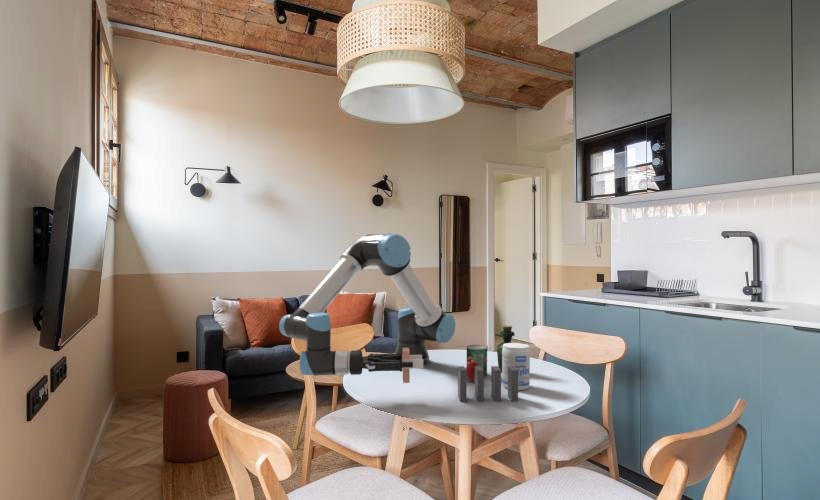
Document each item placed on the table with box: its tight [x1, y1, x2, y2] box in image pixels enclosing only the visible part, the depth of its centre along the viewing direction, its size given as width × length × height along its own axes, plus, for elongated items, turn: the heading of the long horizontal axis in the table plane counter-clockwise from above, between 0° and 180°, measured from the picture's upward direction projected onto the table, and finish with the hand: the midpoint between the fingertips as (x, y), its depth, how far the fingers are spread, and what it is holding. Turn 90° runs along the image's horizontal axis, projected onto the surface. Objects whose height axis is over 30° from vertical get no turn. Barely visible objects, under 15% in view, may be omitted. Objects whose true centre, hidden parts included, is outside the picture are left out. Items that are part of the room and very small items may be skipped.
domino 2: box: [474, 366, 485, 403], centre depth 150 cm, size 2×5×10 cm, turn 3°
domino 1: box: [457, 365, 468, 403], centre depth 150 cm, size 2×5×10 cm, turn 3°
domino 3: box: [490, 365, 502, 403], centre depth 151 cm, size 2×5×10 cm, turn 3°
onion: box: [465, 360, 478, 383], centre depth 170 cm, size 6×6×8 cm
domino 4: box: [507, 366, 519, 402], centre depth 151 cm, size 2×5×10 cm, turn 3°
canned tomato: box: [466, 344, 488, 379], centre depth 179 cm, size 8×8×11 cm
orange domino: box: [402, 348, 411, 384], centre depth 149 cm, size 2×5×10 cm, turn 2°
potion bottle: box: [496, 325, 515, 374], centre depth 184 cm, size 8×8×18 cm
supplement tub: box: [501, 342, 531, 391], centre depth 164 cm, size 10×10×15 cm
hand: (422, 361), depth 149 cm, fingers closed on orange domino, 5 cm apart
